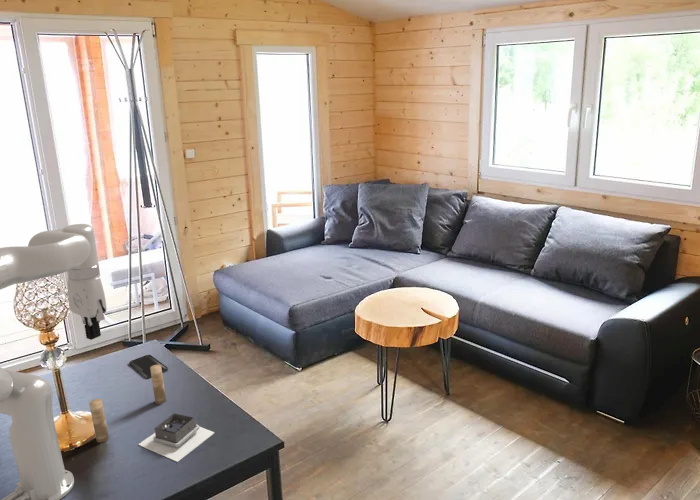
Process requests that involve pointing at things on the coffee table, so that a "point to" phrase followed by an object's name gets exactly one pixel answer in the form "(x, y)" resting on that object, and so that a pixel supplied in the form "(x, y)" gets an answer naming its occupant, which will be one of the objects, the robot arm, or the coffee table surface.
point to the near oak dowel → (99, 420)
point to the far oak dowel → (158, 384)
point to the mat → (183, 449)
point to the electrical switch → (175, 430)
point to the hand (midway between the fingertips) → (93, 337)
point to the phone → (146, 365)
